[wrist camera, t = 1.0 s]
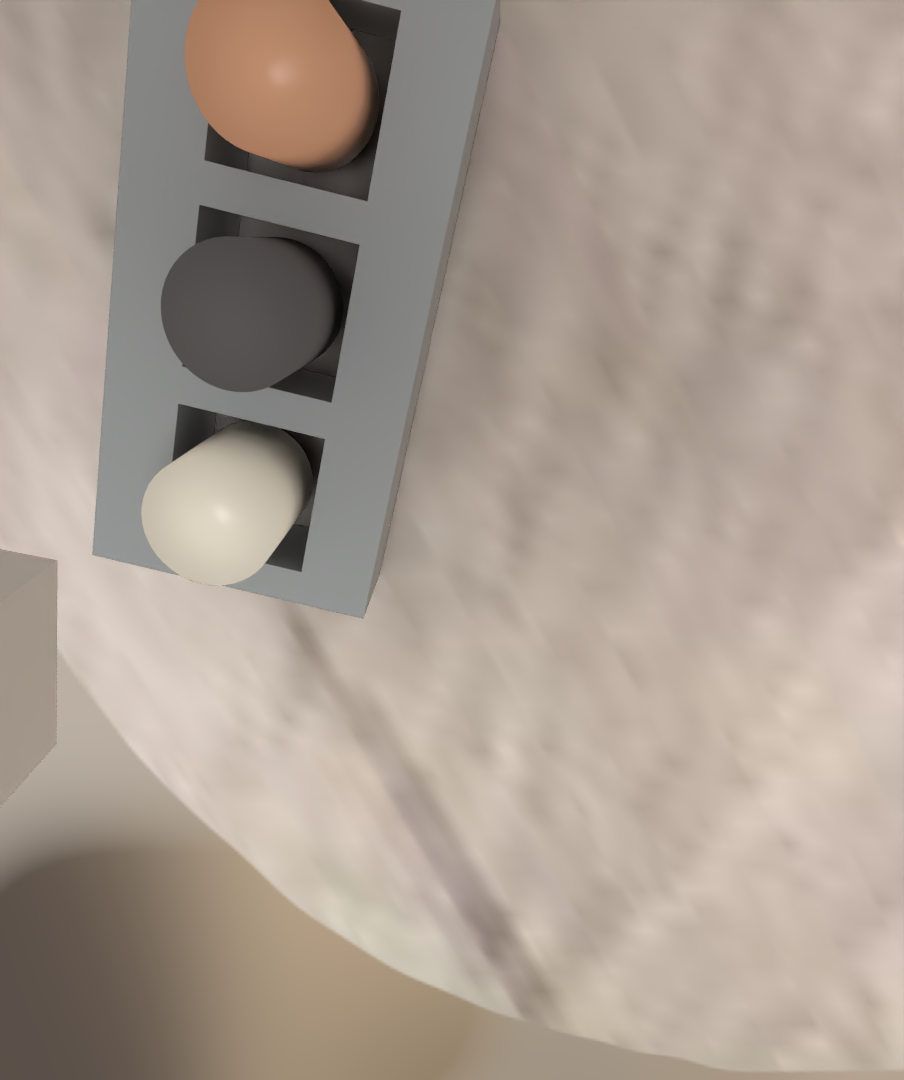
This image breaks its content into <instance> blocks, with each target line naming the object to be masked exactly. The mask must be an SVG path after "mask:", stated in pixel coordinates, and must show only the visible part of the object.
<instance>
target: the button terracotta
mask: <svg viewBox="0 0 904 1080" xmlns="http://www.w3.org/2000/svg"><path fill="white" fill-rule="evenodd" d="M184 57H185V69H186V74H187V79H188V83H189V86H190V90H191V93H192V95H193V97H194V100H195V102H196V104H197V106H198V108H199V109H200V111H201V113H202V115H203V116H204V117H205V119H206V120H207V121H208V123H209V124H210V125H211V126H212V127H213V128H214V129H215V131H216V132H217V133H218V134H220V135H221V136H222V137H223V138H224V139H225V140H227V141H228V142H230V143H231V144H233V145H234V146H236V147H238V148H240V149H242V150H244V151H247V152H250V153H253V154H255V155H258V156H261V157H264V158H267V159H269V160H272V161H275V162H278V163H281V164H283V165H286V166H289V167H292V168H295V169H298V170H301V171H306V172H327V171H331V170H334V169H337V168H339V167H341V166H343V165H345V164H347V163H348V162H350V161H351V160H352V159H354V158H355V157H356V156H357V155H358V154H359V153H360V152H361V151H362V150H363V148H364V147H365V145H366V144H367V143H368V141H369V139H370V137H371V135H372V133H373V130H374V128H375V125H376V121H377V117H378V111H379V89H378V83H377V78H376V74H375V71H374V69H373V66H372V64H371V62H370V60H369V58H368V56H367V54H366V53H365V51H364V50H363V48H362V47H361V45H360V44H359V42H358V41H357V40H356V38H355V37H354V35H353V34H352V33H351V31H350V30H349V28H348V27H347V26H346V24H345V23H344V21H343V20H342V19H341V17H340V16H339V14H338V13H337V11H336V10H335V9H334V7H333V6H332V4H331V3H330V2H329V0H199V1H198V2H197V4H196V6H195V8H194V10H193V12H192V15H191V17H190V20H189V24H188V27H187V31H186V38H185V50H184Z"/></svg>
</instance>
